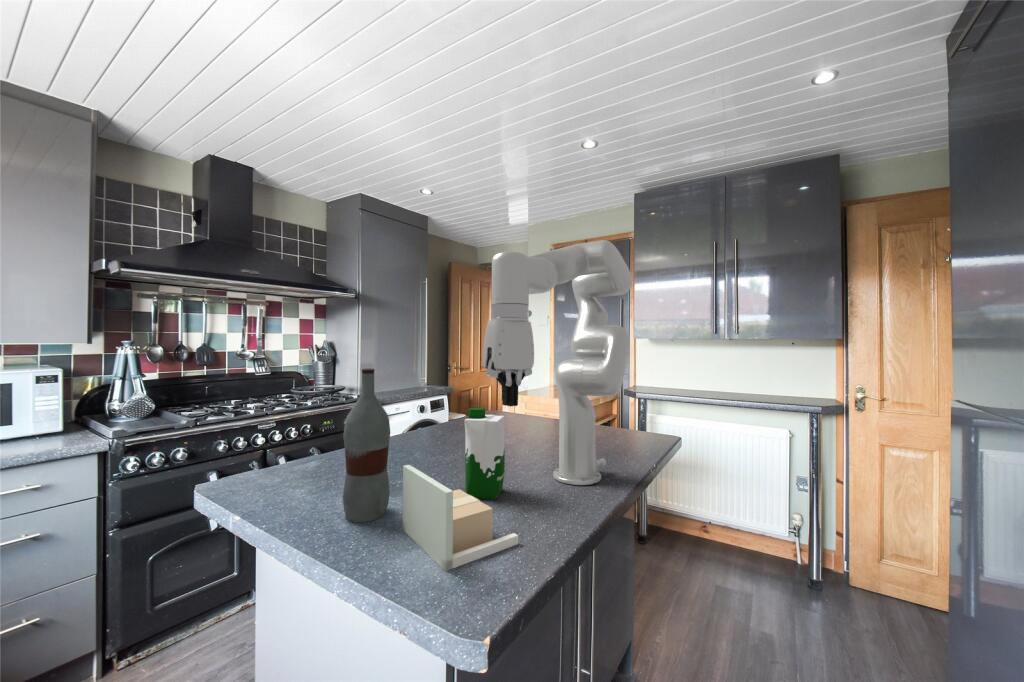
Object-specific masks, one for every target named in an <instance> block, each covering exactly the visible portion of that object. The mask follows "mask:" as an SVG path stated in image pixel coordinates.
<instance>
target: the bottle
mask: <svg viewBox="0 0 1024 682" xmlns="http://www.w3.org/2000/svg"><path fill="white" fill-rule="evenodd" d="M360 392H361V393H360V396H359V397H358V399H357V400H356V401H355V403H354V405H353V407H352V408H351V409H350V412H348V414H347V415H346V418H345V422H344V427H343V443H344V444H343V445H344V454H345V455H344V456H345V457H344V459H345V478H344V483H343V491H342V503H343V504H342V505H343V511H344V515H345V518H346V519H347V520H348V521H350V522H354V523H366V522H371V521H375V520H378V519H380V518H382V517H384V516H385V515H386V514H387V510H388V507H389V502H390V501H389V500H390V493H391V491H390V483H389V481H390V479H389V474H388V457H389V448H390V439H391V425H390V424H391V423H390V419H389V415H388V413H387V411H386V409H385V408H384V407H383V405H382V404H381V402H380V401H379V399H378V398H377V396H376V395H375V394H376V393H375V368H369V367H368V368H361V391H360Z"/></svg>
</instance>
